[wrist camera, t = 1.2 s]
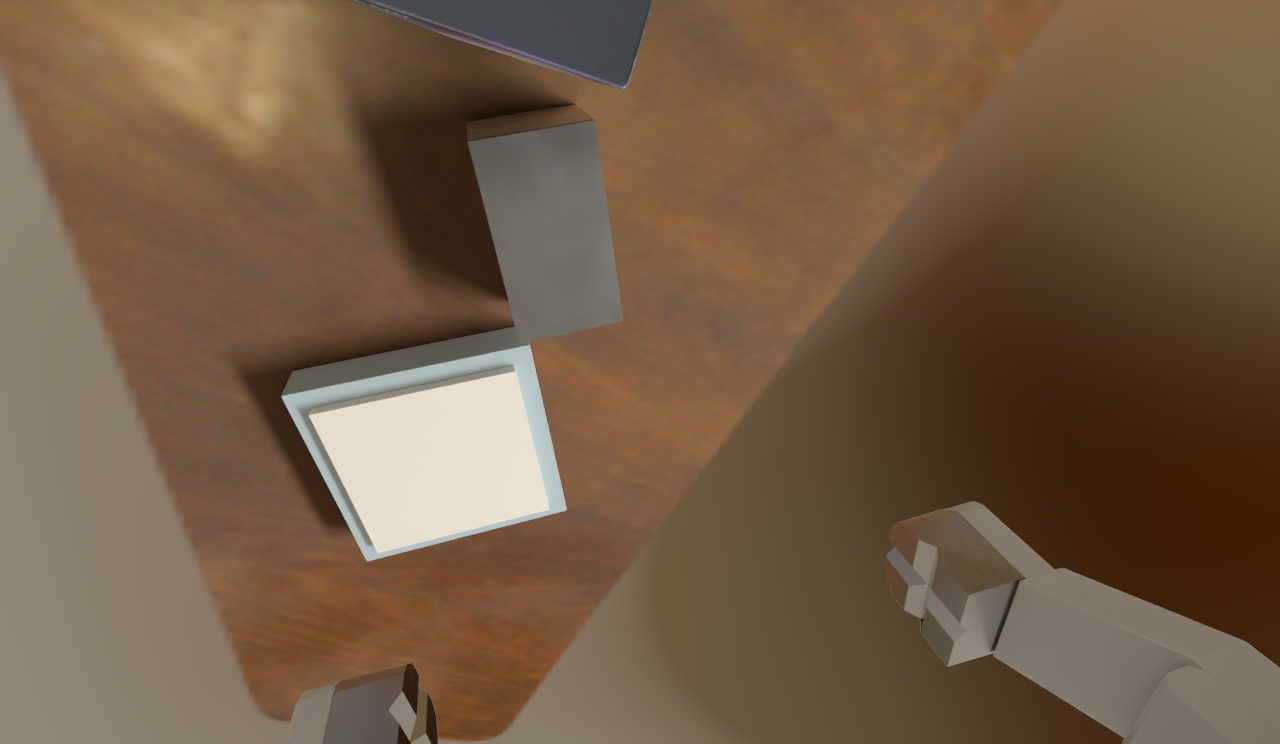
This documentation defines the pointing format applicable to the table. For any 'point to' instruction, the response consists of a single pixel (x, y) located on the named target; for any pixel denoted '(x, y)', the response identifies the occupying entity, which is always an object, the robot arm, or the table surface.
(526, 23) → the small box
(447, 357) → the stand
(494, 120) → the block
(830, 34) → the table surface
